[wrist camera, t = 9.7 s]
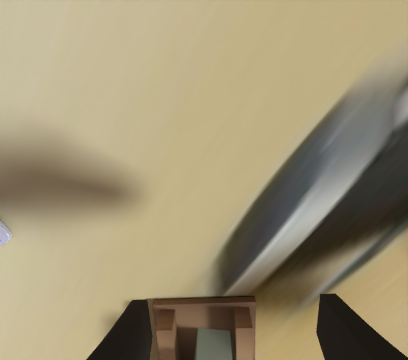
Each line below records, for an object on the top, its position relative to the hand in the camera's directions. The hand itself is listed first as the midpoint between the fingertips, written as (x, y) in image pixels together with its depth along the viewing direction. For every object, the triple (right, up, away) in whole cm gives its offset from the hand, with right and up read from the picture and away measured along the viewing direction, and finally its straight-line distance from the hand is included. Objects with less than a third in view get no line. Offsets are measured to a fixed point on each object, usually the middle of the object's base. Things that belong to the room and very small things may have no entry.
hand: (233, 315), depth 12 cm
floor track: (-1, -10, +14) cm, 17 cm away
